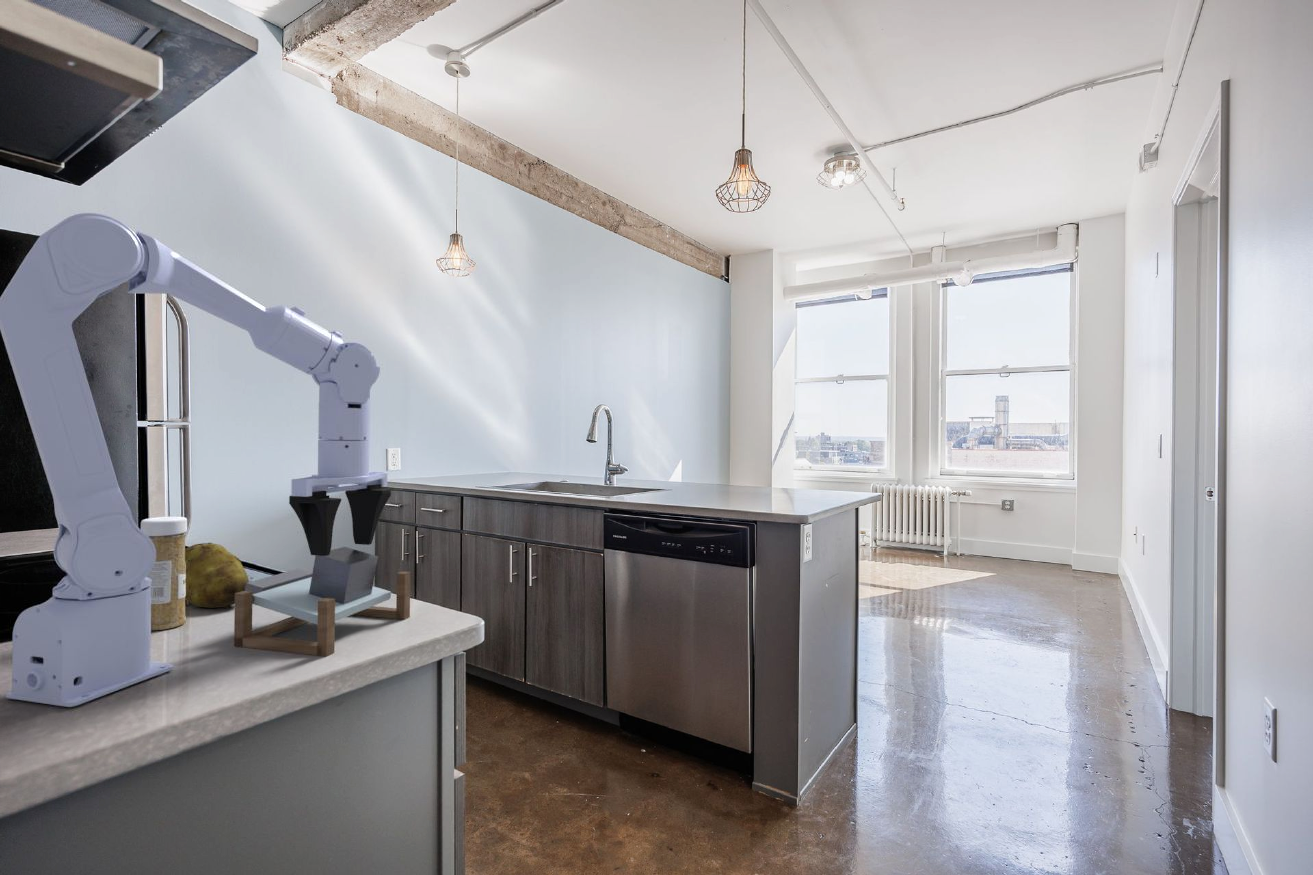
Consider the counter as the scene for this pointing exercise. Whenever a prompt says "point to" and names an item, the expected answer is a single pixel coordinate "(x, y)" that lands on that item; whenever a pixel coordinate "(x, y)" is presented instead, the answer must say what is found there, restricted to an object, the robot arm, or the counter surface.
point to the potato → (213, 576)
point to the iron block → (343, 575)
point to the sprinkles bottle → (167, 571)
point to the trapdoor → (304, 596)
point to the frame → (325, 621)
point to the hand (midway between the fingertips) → (342, 549)
